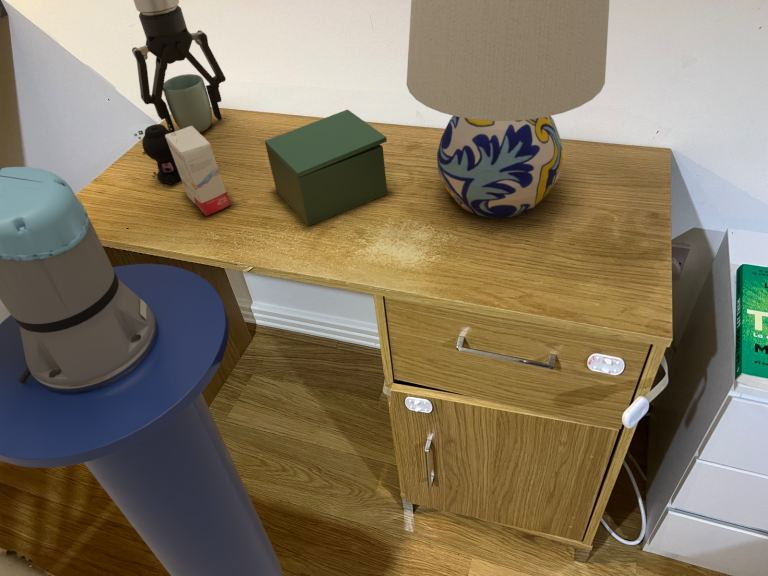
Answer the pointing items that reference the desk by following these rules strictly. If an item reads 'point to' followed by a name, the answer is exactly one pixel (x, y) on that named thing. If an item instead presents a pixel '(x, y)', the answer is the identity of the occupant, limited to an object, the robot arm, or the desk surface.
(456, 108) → the table lamp
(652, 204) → the desk surface
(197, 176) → the ink box
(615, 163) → the desk surface
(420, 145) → the desk surface
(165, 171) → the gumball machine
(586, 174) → the desk surface
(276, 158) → the chest
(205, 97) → the cup
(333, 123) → the lid
